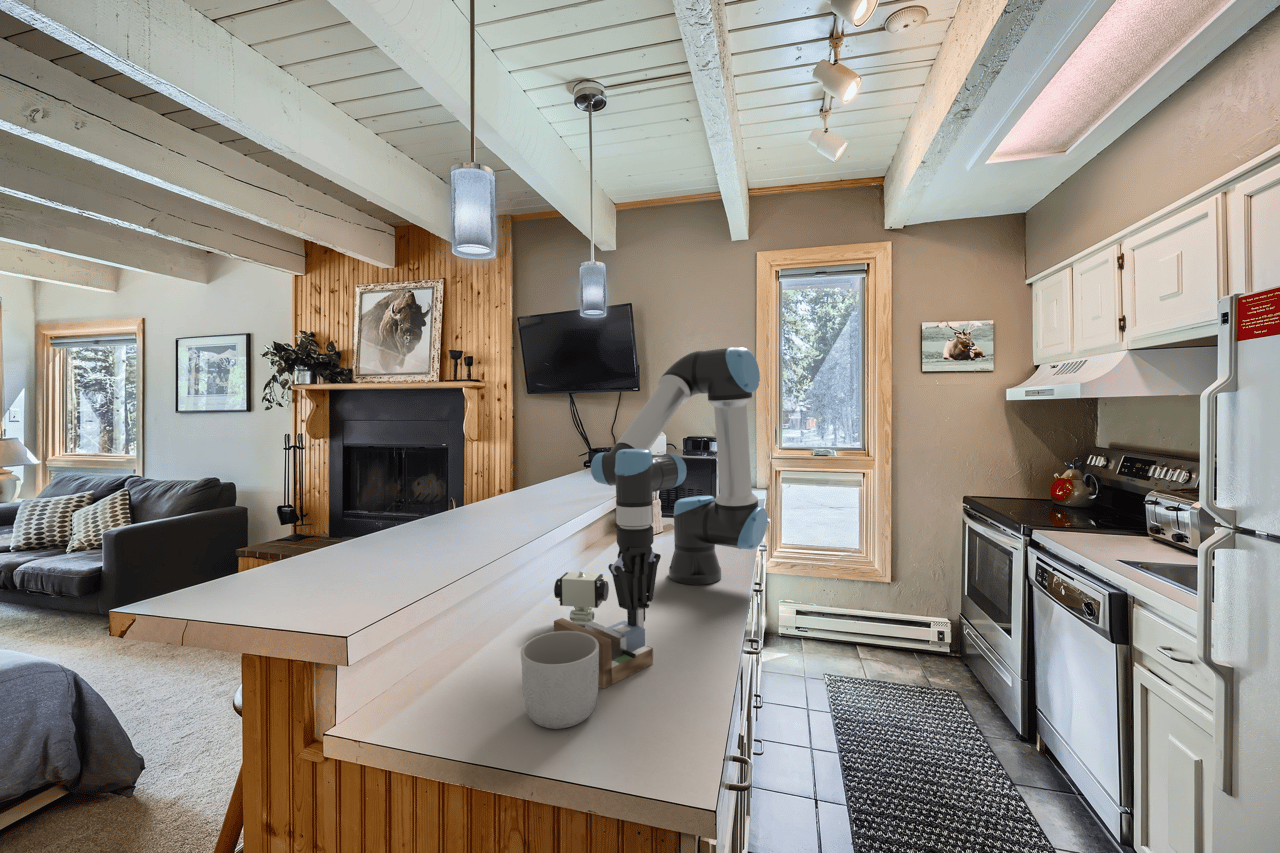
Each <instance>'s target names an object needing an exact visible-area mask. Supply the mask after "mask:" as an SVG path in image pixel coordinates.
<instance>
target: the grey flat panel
mask: <svg viewBox="0 0 1280 853" xmlns="http://www.w3.org/2000/svg"><path fill="white" fill-rule="evenodd" d="M584 628H586V629H588V630H590V631H593V632H595V633H597V634H599V635H601V636H604V637H606V638H608V639H610V640H611V653H612V661H613V660H614V659H616V658H618V657H620V656H623V655H627V656H630V657H632V658H636V654H634V653H632V652H630V651H627V650H626V636H625V635H622V634H620V633H618V632H615V631H613V630H611V629H609V628H607V627H606V626H603V625H601V624H599V623H596V622H595V621H593V622H592V621H589V622H587V623H585V626H584Z"/></svg>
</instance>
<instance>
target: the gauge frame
mask: <svg viewBox="0 0 1280 853" xmlns="http://www.w3.org/2000/svg"><path fill="white" fill-rule="evenodd" d="M557 631H577V632H582V633H586V634H589V635H591V636H593V637H594V638H595V639H596V640H597V641H598V643H599V679H598V688H601V689H606V688H608V687H610V686H612V685H614V684H615V683H617V682H618V683H619V682H620V681H622V680H623V679H625V678H627V677H629V676H631V675H634V674H636V673H637V672H639V671H641V670H643V669H645V668H647V667H650V666H651V665H653V664H654V648H653V647H650V646H648V645H645V646H643V647H641V648H639V649H637V650H635V651H633V652H632V653H634V654H636V658H632V657H630V656H627V655H623V656H620V657H618V658H616V659H614V660H613V661H612V653H611V640H610V639H608V638H606V637H604V636H601V635H599V634H597V633H595V632H593V631H590V630H588V629H586V628H585V626H579V625H577V624H575V623H573V622H572V621H571V620H568V619H566V618H564V617H560V618H557V619H555V620H553V632H557Z"/></svg>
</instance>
